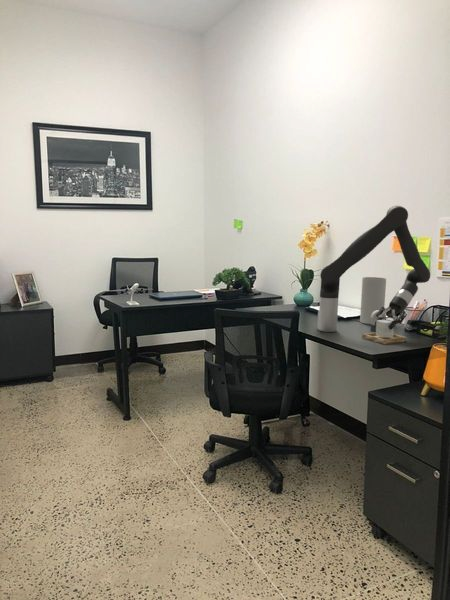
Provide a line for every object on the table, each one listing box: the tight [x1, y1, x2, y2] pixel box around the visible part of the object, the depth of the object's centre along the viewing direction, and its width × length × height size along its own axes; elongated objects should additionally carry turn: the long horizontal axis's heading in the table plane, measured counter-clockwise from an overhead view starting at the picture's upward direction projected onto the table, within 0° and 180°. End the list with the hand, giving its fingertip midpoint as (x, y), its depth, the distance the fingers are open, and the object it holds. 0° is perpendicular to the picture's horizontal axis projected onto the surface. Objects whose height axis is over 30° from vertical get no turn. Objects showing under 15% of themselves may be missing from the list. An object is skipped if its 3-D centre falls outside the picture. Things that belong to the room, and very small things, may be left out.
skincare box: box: [376, 319, 395, 338], centre depth 227 cm, size 6×6×7 cm
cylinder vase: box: [359, 276, 387, 326], centre depth 267 cm, size 12×12×25 cm
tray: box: [361, 332, 407, 345], centre depth 228 cm, size 14×14×2 cm
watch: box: [370, 310, 387, 333], centre depth 245 cm, size 6×8×11 cm
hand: (382, 326), depth 227 cm, fingers closed on skincare box, 7 cm apart
